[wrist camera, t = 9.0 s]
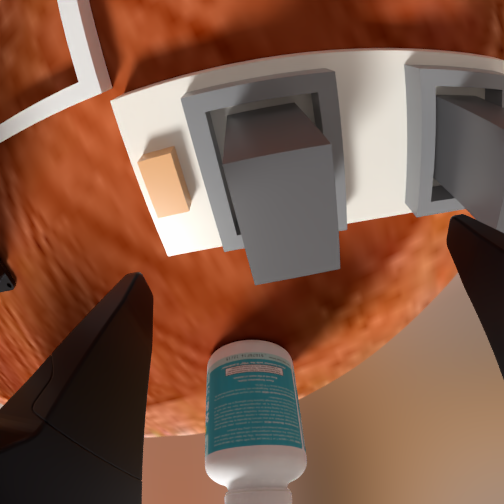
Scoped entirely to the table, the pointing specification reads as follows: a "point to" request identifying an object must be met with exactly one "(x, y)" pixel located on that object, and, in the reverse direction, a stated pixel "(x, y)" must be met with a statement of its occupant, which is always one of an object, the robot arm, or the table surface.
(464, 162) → the plug
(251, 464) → the pill bottle
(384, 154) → the power strip
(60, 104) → the white square frame
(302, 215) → the plug
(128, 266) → the table surface
